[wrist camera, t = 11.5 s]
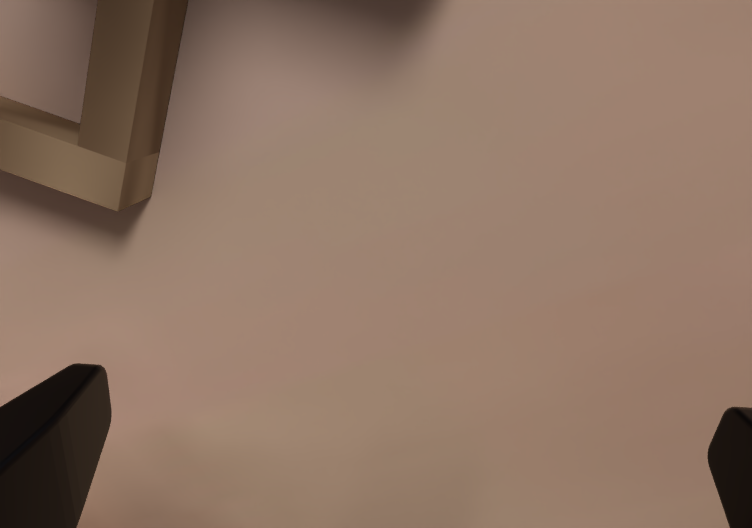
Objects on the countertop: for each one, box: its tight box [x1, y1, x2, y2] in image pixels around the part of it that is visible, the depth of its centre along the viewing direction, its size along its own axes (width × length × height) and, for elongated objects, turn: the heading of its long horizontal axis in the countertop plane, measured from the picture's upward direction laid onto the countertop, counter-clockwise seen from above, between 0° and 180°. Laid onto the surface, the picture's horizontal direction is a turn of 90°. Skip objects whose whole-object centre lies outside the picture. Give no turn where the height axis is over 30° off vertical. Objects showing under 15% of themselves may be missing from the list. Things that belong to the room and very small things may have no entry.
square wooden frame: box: [0, 0, 188, 212], centre depth 19 cm, size 9×9×2 cm
